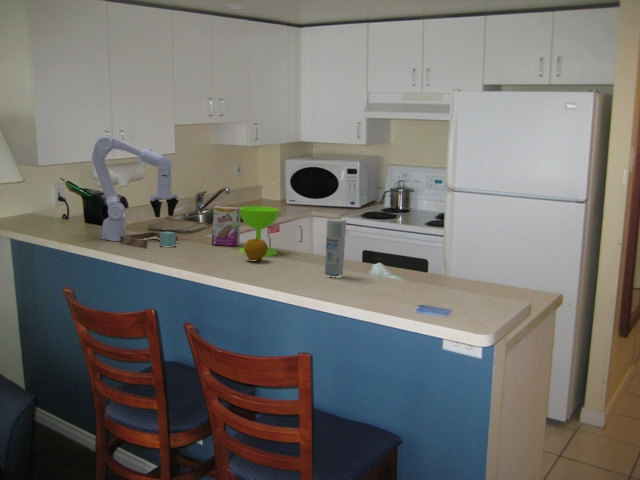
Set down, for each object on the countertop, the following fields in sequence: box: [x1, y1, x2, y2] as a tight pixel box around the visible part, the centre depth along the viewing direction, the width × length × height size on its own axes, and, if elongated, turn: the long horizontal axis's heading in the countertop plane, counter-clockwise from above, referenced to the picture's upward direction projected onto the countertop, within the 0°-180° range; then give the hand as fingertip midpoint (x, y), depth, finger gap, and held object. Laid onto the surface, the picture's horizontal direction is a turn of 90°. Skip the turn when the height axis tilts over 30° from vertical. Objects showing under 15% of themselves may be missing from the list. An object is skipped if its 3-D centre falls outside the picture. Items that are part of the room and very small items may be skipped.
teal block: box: [159, 231, 177, 246], centre depth 273 cm, size 5×4×6 cm
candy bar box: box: [211, 205, 241, 248], centre depth 283 cm, size 11×5×16 cm, turn 84°
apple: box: [243, 237, 269, 261], centre depth 252 cm, size 9×9×9 cm
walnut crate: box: [119, 231, 179, 249], centre depth 280 cm, size 15×18×3 cm
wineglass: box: [238, 206, 280, 257], centre depth 270 cm, size 16×16×18 cm
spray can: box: [324, 218, 347, 276], centre depth 231 cm, size 6×6×20 cm
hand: (164, 216), depth 288 cm, fingers open, 7 cm apart
